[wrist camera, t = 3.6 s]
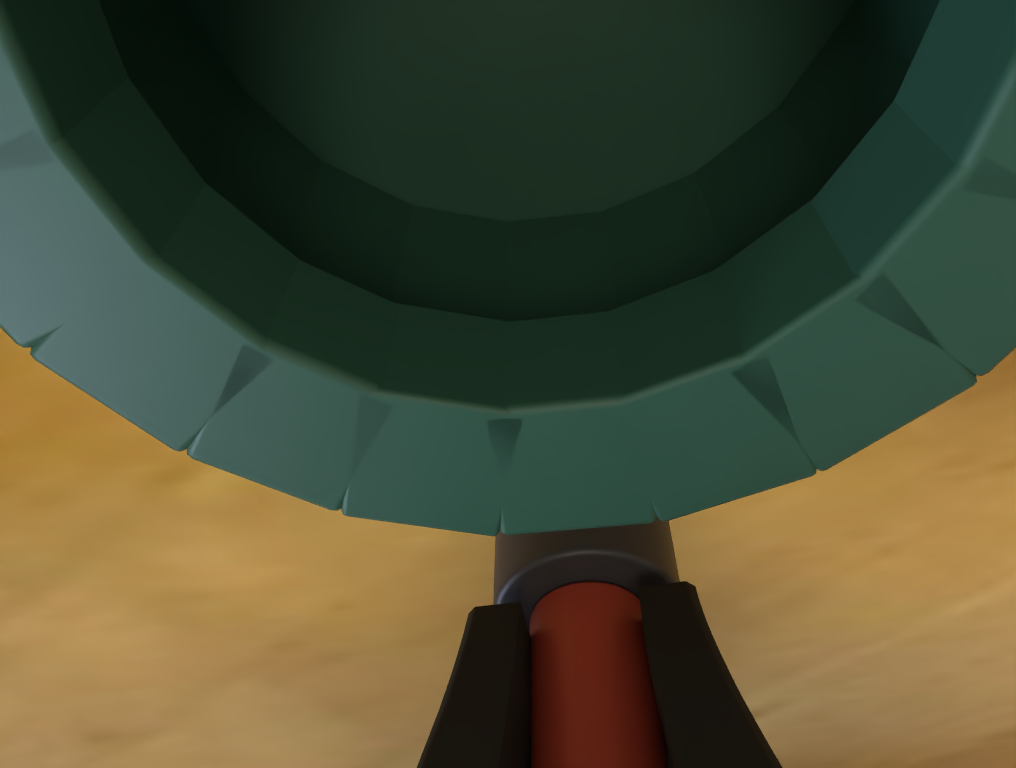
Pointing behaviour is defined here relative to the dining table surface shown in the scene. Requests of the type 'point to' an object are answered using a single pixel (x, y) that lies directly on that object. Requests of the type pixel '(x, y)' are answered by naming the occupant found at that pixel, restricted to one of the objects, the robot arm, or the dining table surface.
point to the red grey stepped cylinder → (588, 640)
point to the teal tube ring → (511, 238)
